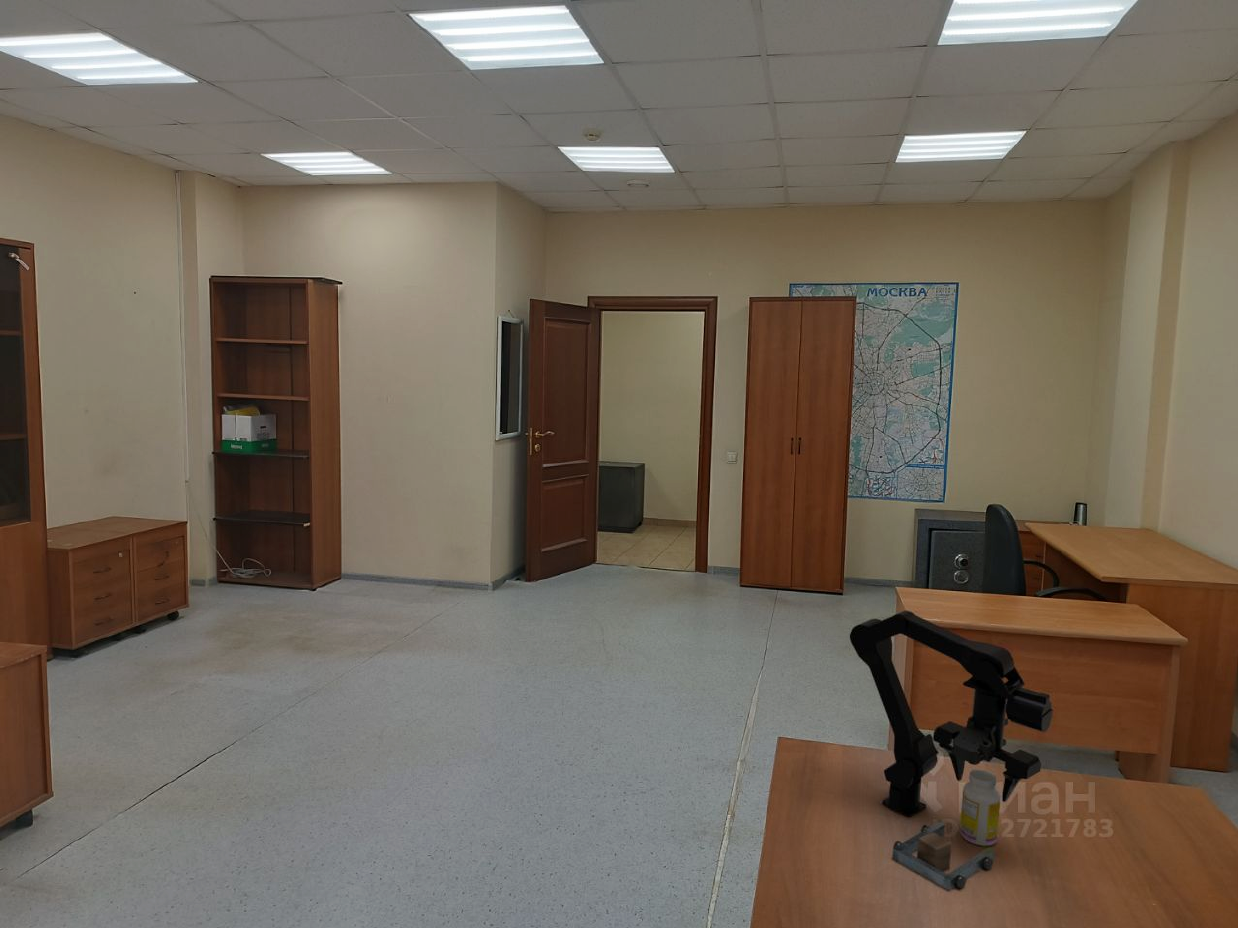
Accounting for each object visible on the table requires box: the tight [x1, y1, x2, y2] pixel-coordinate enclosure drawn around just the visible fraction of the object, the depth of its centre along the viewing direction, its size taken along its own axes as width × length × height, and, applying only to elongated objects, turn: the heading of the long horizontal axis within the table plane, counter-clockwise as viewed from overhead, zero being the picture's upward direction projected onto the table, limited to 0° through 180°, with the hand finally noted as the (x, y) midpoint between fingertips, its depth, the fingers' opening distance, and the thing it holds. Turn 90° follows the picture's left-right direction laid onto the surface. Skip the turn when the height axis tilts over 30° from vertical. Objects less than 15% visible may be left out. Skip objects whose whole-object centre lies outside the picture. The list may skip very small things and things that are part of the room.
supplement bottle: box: [959, 768, 1001, 847], centre depth 160 cm, size 7×7×13 cm
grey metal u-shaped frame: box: [891, 821, 996, 892], centre depth 154 cm, size 15×13×2 cm
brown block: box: [916, 832, 952, 872], centre depth 151 cm, size 4×4×5 cm
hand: (981, 790), depth 160 cm, fingers open, 9 cm apart
